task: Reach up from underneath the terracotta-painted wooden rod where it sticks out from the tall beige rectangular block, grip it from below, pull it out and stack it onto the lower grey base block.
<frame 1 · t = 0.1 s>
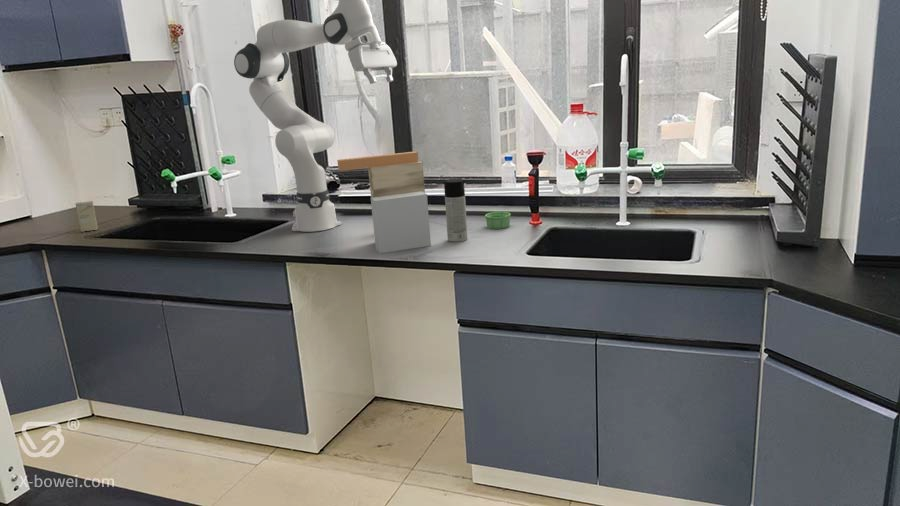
hand: (382, 82, 216), 52 cm above the worktop, tool tilted 20°, fingers open, 8 cm apart
spray can: (457, 240, 217), on the worktop
beige rectangular block: (402, 240, 221), on the worktop
skincare box: (90, 231, 272), on the worktop
ramekin: (498, 227, 232), on the worktop
base: (403, 247, 212), on the worktop
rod: (378, 165, 212), point 26 cm above the worktop, touching beige rectangular block
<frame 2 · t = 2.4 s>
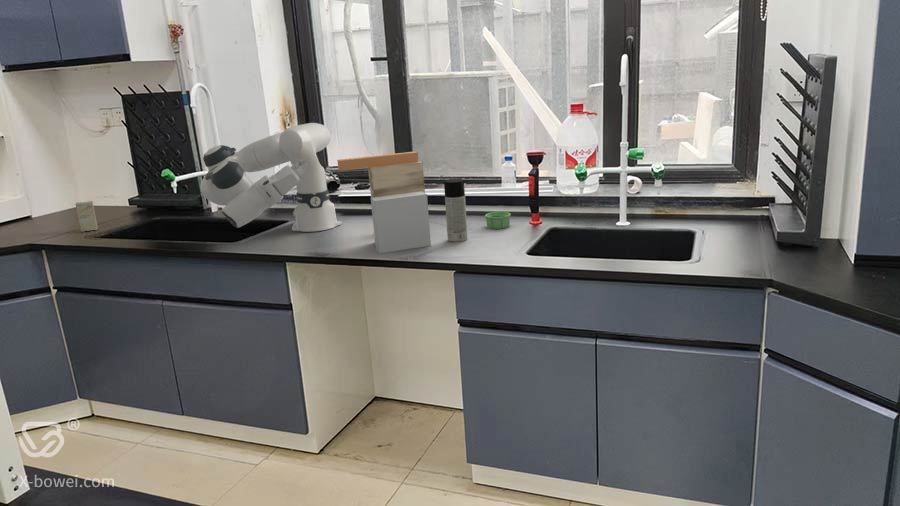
hand: (306, 163, 206), 29 cm above the worktop, tool pointing upward, fingers open, 8 cm apart
nothing on the worktop moved.
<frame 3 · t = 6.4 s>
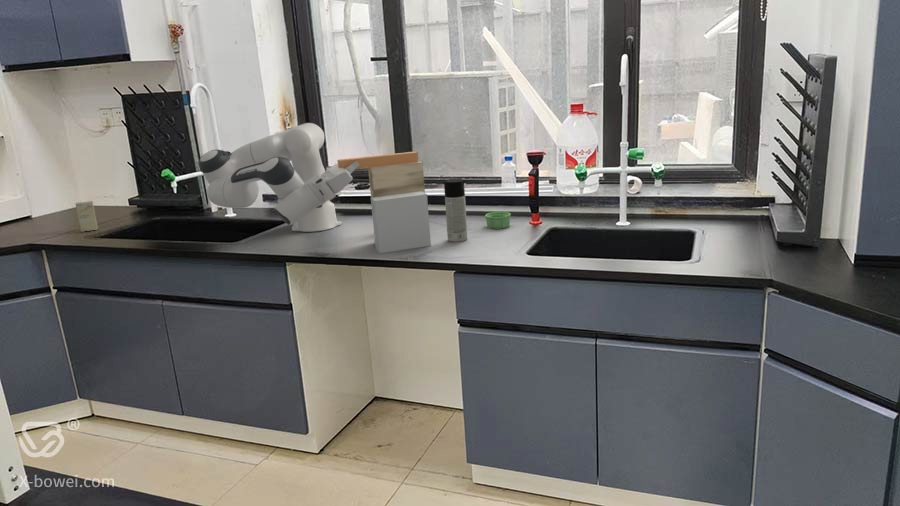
hand: (356, 162, 210), 28 cm above the worktop, tool pointing upward, fingers closed on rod, 3 cm apart
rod: (378, 165, 212), point 26 cm above the worktop, touching gripper, beige rectangular block
everything else where it was.
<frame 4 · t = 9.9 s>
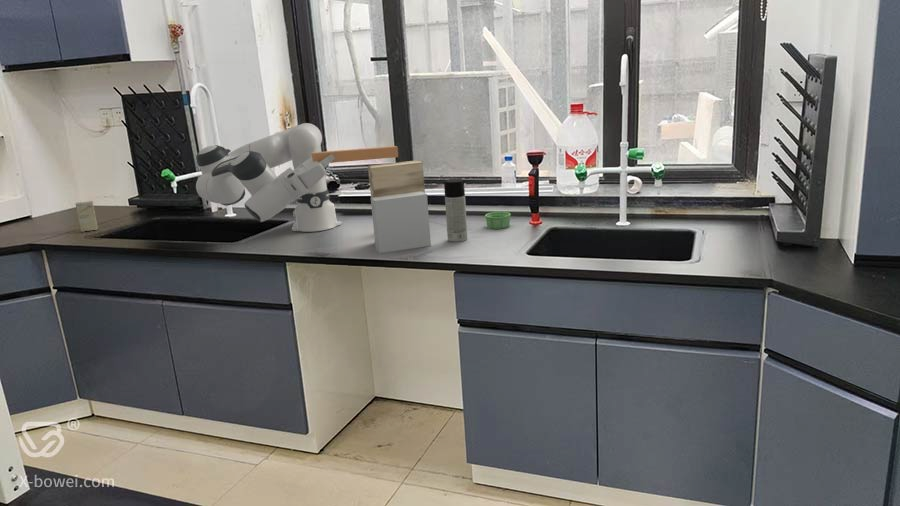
hand: (331, 155, 198), 32 cm above the worktop, tool pointing upward, fingers closed on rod, 3 cm apart
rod: (356, 160, 200), point 30 cm above the worktop, touching gripper
everything else where it was.
when the fingers open (20 cm above the worktop, at t = 13.3 s): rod stays where it is, resting on base.
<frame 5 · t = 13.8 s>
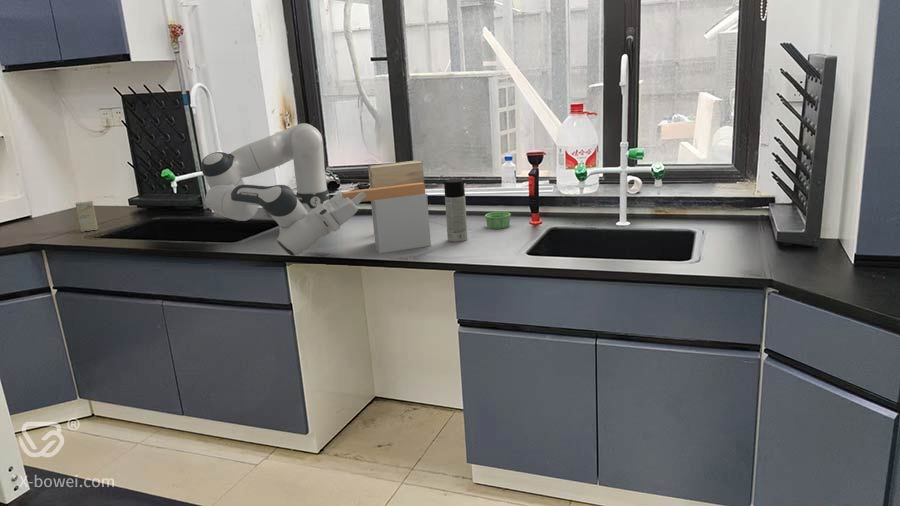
hand: (361, 191, 203), 20 cm above the worktop, tool pointing upward, fingers open, 8 cm apart
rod: (384, 197, 206), point 17 cm above the worktop, touching base
everything else where it was.
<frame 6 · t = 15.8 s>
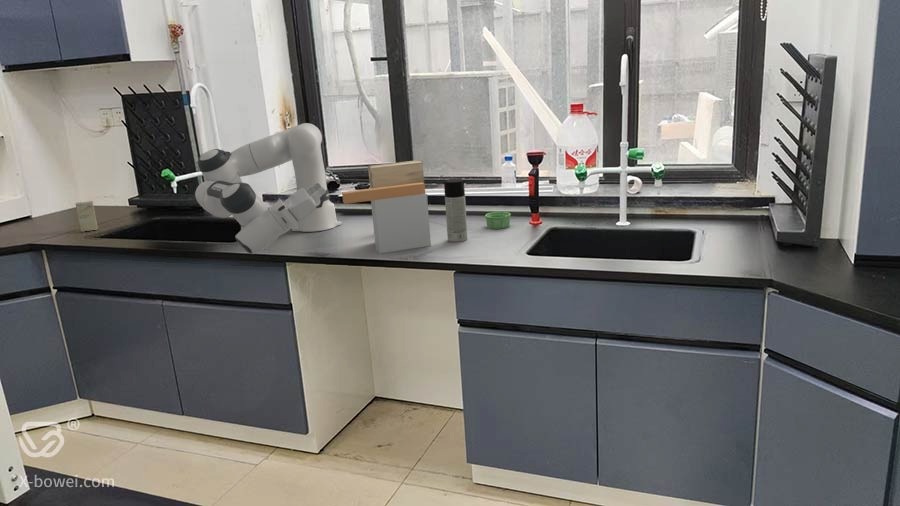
hand: (322, 186, 199), 23 cm above the worktop, tool pointing upward, fingers open, 8 cm apart
nothing on the worktop moved.
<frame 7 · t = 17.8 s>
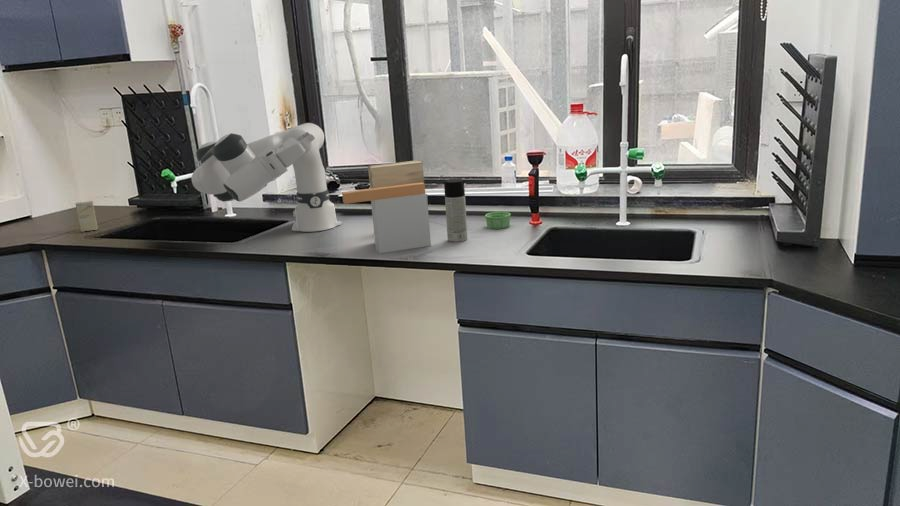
hand: (311, 134, 197), 38 cm above the worktop, tool pointing upward, fingers open, 8 cm apart
nothing on the worktop moved.
at the end: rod inside the target area (2.6 cm from its centre), point 17.0 cm above the worktop; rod touching base; the gripper is holding nothing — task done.
